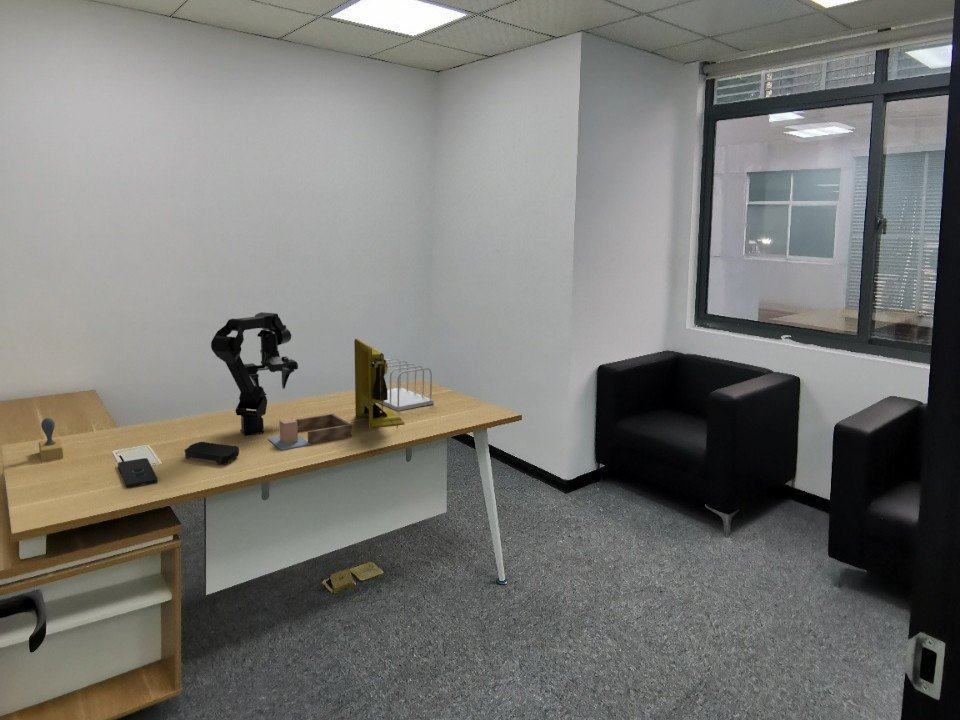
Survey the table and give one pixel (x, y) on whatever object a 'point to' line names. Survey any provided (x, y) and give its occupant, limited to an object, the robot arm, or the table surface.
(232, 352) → the robot arm
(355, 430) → the table surface
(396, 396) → the file sorter
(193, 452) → the black sponge
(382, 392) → the vintage telephone
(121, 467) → the smart home device
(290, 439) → the terracotta block
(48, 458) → the rubber stamp
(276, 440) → the slate mat
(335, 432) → the brown open boxy piece
